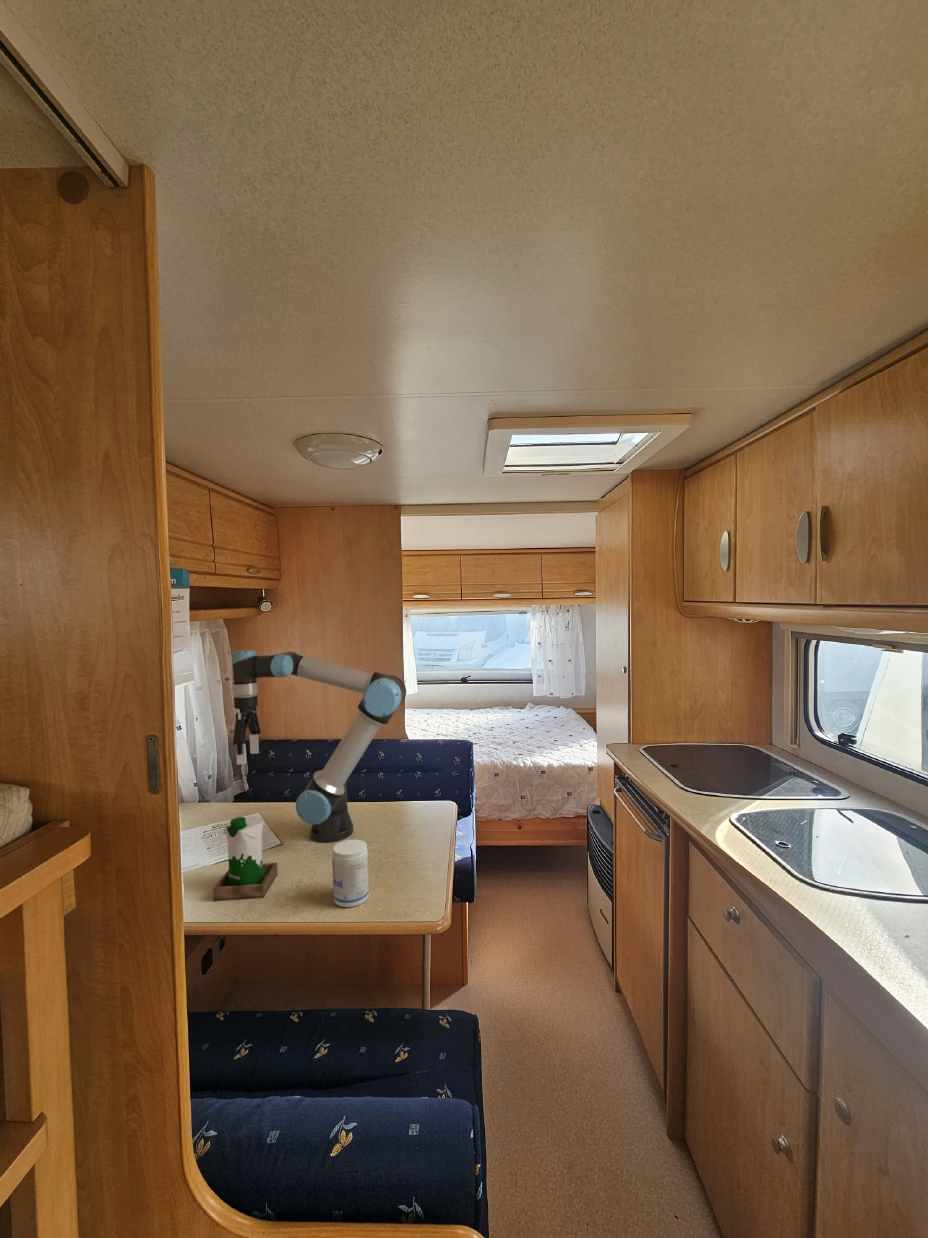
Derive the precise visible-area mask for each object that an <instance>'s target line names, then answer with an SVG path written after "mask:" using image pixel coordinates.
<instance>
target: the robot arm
mask: <svg viewBox="0 0 928 1238" xmlns="http://www.w3.org/2000/svg"><path fill="white" fill-rule="evenodd" d="M231 657H232V659H231V666H232V683H233V684H232V686H231V689H232V690H233V691H232V692H233V696H234V698H233V708H234V709H235V710H239V713H238V712H237V713H236V714H235V722H234V723H235V725H234V734H233V739H232V740H233V741H232V745H233V746H235V749H236V750H235V752H236V753H235V754H236V765H246V764H247V752H246V750H247V749H246V743H245V740H246V735H247V731H248V730H249V731H248V732H249V733H250V734H249V748H250V749H249V752H250V754H251V755H252V754H255V755H256V754H259V753H260V749H259V734H261V733H262V732H261V727H260V722H259V718H258V713H257V707H258V706H259V700H258V699H259V697H258V692H259V691H258V679H261V678H264V679H265V678H280V679H281V678H285V677H287V678H288V677H290V676H296V677H300V678H303V679H307V680H311V681H315V682H318V683H322V684H326V685H330V686H334V687H337V688H342V689H345V690H348V691H352V692H355V693H360V694H362V698H361V699H360V702H359V703H358V705H357V707H356V709H357V712H358V714H357V715H356V716H355V718H354V719H353V721H352V723H351V724H350V726H349V727H348V729H347V731H346V733H345V734H344V736H343V737H342V739H341V740H340V742H339V743H338V745H337V747H336V749H335V750H334V752H333V753H332V754H331V756H330V758H329V760H328V761H327V763H326V764H325V766H324V768H322V769H320V770H317V771H316V770H315V771H314V772H313V774H312V778H311V780H310V782H309V783H308V784H307V786H306V787H305V789H304V790H303V791H302V792H301V793H300V794H299V796H298V797H297V799H296V801H295V810H296V815H297V816H298V817H299V819H300V820H302V822H304V823H306V824H308V825H311V827H310V830H309V835H310V839H311V840H312V841H313V842H318V843H332V842H333V843H334V842H338V841H343V840H345V839H346V838H347V839H348V838H349V837H350V836H351V835H352V834H353V833H354V823H353V821H352V818H351V815H350V813H349V810H348V787H347V786H348V783H347V782H348V781H347V780H348V779H349V777H350V776H351V774H352V772H353V771H354V769H355V767H356V766H357V765H358V763H359V761H360V759H361V758H362V756H363V755H364V753H365V752H366V750H367V749H368V747H369V745H370V743H371V742H372V740H373V739H374V737H375V736H376V734H377V733H378V731H379V729H380V728H381V727H383V726H387V725H388V723H390V720H392V719H391V718H392V717H393V716H394V714H395V713H396V711H397V709H398V708H399V706H400V705H402V704H403V702H404V701H405V700H406V699H405V698H406V696H407V688H406V685H405V683H404V681H403V680H402V679H401V678H400V677H398V676H395V675H393V674H387V673H381V672H378V671H373V672H371V673H370V672H365V671H363V670H360V669H356V668H355V669H354V668H351V667H347V666H344V665H339V664H335V663H332V662H328V661H325V660H324V661H323V660H319V659H316V658H312V657H309V656H303V655H300V654H299V653H298V652H295V651H286V652H283V653H276V654H267V655H257V653H256V650H253V649H244V650H243V649H241V650H235V651H233V653H232V655H231Z"/></svg>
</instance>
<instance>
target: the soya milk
mask: <svg viewBox="0 0 928 1238" xmlns="http://www.w3.org/2000/svg"><path fill="white" fill-rule="evenodd" d="M264 823H265V821H262V820H258V819H255V818H254V819H253V818H249V817H243V816H239V817H235V818H232V819H231V820H230V824H228V825H226V826H224V830H225V835H226V839H227V853H228V870H229V886H241V885H255V884H261V883H262V882H263V880H264V869H263V864H264V859H263V857H264V856H263V855H264V854H263V829H264Z"/></svg>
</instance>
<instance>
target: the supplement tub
mask: <svg viewBox="0 0 928 1238" xmlns="http://www.w3.org/2000/svg"><path fill="white" fill-rule="evenodd" d="M331 856H332V857H331V859H332V889H333V893H332V894H333V895H332V896H333V902H334V903H335V904H336V905H337V906H339V907H342V908H354V907H357V906H359V905H363V904H364V903H365V902H366V901H367V900H368V898H369V891H370V889H369V886H370V885H369V856H368V844H367V843H366V841H363V840H361V839H348V840H347V839H346V840H341V841H340V842H338V843H336V844H335V845H334V846H333V847H332V854H331Z"/></svg>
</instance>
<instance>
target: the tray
mask: <svg viewBox="0 0 928 1238" xmlns="http://www.w3.org/2000/svg"><path fill="white" fill-rule="evenodd" d="M263 869H264V880H263V882H262V883H261V884H255V885H241V886H229V869H228V870H227V871H226V872H225V874H224V875H222V878H221V879H220V880H219V881H218V883H216V885H215V886H214V888H213V889H212V890H213V891H212V895H213V902H223V901H235V900H237V901H240V900H250V899H252V900H253V899H264V898H265V896H266V894H267V893H268V892H269V891H268V890H270V888H271V886H272V884H273V882H274V881H275V879H277V878H276V877H277V875H278V863H277V862H267V863H263Z"/></svg>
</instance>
